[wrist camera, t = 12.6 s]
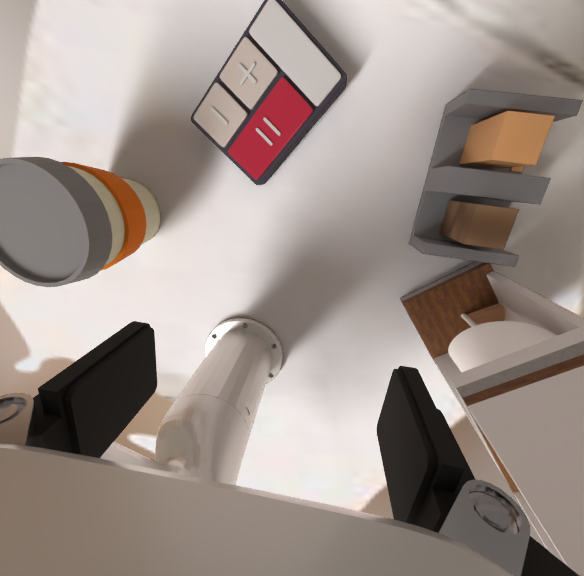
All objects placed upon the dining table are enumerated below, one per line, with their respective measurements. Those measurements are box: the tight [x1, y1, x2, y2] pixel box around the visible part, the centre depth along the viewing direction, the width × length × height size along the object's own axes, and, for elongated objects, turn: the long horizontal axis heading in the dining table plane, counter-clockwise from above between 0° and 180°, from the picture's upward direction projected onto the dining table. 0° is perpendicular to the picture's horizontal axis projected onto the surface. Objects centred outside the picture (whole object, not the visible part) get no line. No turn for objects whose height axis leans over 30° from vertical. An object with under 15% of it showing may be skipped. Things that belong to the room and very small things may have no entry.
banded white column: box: [400, 261, 584, 576], centre depth 24 cm, size 11×11×35 cm
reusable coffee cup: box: [0, 157, 161, 287], centre depth 34 cm, size 13×13×15 cm
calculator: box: [191, 0, 347, 185], centre depth 33 cm, size 11×4×15 cm
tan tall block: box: [460, 111, 555, 169], centre depth 29 cm, size 4×4×7 cm
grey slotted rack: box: [409, 89, 583, 267], centre depth 32 cm, size 16×10×6 cm, turn 173°
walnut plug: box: [439, 200, 519, 249], centre depth 32 cm, size 4×4×7 cm
